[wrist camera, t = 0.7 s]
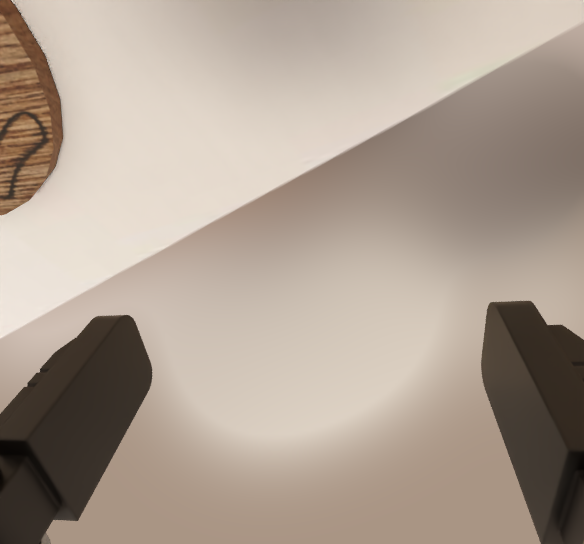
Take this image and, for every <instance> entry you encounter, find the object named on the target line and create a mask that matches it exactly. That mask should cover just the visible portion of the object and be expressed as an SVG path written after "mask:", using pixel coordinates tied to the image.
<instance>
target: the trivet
mask: <svg viewBox="0 0 584 544" xmlns="http://www.w3.org/2000/svg"><path fill="white" fill-rule="evenodd" d="M62 139H63V132H62V119H61V106H60V98H59V96H58V93H57V90H56V87H55V84H54V81H53V78H52V75H51V72H50V69H49V67H48V64H47V61H46V58H45V55H44V54H43V52H42V50H41V49H40V47H39V45H38V44H37V42H36V40H35V39H34V37H33V35H32V33H31V32H30V30H29V28H28V27H27V25H26V23H25V22H24V20H23V18H22V17H21V15H20V13H19V11H18V10H17V8H16V7H15V5H14V4H13V3H12V2H11V1H10V0H0V215H4V214H7V213H8V212H10V211H12V210H14V209H15V208H17V207H19V206H20V205H22V204H24V203H25V202H27V201H29V200H30V199H31V198H32V197H33V195H34V194H35V193H36V192H37V190H38V189H39V188H40V186H41V185H42V184H43V182H44V181H45V180H46V178H47V177H48V176H49V174H50V173H51V172H52V170H53V169H54V168H55V166H56V162H57V158H58V154H59V151H60V147H61V143H62Z"/></svg>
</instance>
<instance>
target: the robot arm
mask: <svg viewBox="0 0 584 544" xmlns="http://www.w3.org/2000/svg"><path fill="white" fill-rule="evenodd" d="M481 368H482V378H483V383H484V387H485V390H486V393H487V396H488V398H489V401H490V404H491V407H492V409H493V412H494V415H495V418H496V421H497V423H498V426H499V429H500V432H501V434H502V437H503V440H504V443H505V446H506V448H507V451H508V454H509V457H510V459H511V462H512V465H513V468H514V470H515V473H516V476H517V479H518V481H519V484H520V487H521V490H522V492H523V495H524V498H525V501H526V504H527V506H528V509H529V512H530V514H531V517H532V520H533V523H534V526H535V528H536V531H537V534H538V537H539V539H540V542H541V544H584V340H583V339H581V338H580V337H579V336H577V335H576V334H574V333H573V332H572V331H570V330H569V329H567V328H566V327H564V326H563V325H547V324H546V322H545V321H544V319H543V318H542V316H541V315H540V313H539V312H538V310H537V308H536V307H535V305H534V304H533V303H532V302H531V301H515V302H514V301H513V302H491V303H490V304H489V306H488V309H487V316H486V324H485V333H484V342H483V350H482V360H481ZM151 381H152V367H151V363H150V360H149V357H148V355H147V352H146V349H145V347H144V344H143V341H142V339H141V336H140V333H139V331H138V328H137V326H136V323H135V321H134V319H133V318H132V317H130V316H129V315H116V316H97V317H95V318H93V319H92V320H91V321H90V323H89V324H88V325H87V326H86V327H85V328H84V330H83V331H82V332H81V333H80V334H79V335H78V337H77V338H75V339H73V340H72V341H70V342H69V343H68V344H66V345H65V346H63V347H62V348H60V349H59V350H58V351H57V352H55V353H54V354H53V355H52V356H51V358H50V359H49V360H48V361H47V362H46V363H45V364H44V365H43V366H42V368H41V369H40V373H36V374H35V375H34V377H33V378H32V379H31V380H30V381H29V382H28V386H27V387H24V388H23V389H22V390H21V391H20V392H19V393H18V395H17V396H16V397H15V398H14V399H13V400H12V401H11V403H10V404H9V405H8V406H7V407H6V408H5V409H4V411H3V412H2V413H1V414H0V544H51V543H50V539H49V537H48V535H47V534H46V531H47V529H48V528H49V526H50V524H51V522H52V521H53V520H70V521H78V520H79V518H80V516H81V514H82V512H83V510H84V508H85V507H86V505H87V503H88V501H89V499H90V497H91V496H92V494H93V492H94V490H95V488H96V486H97V485H98V483H99V481H100V479H101V477H102V475H103V474H104V472H105V470H106V468H107V466H108V464H109V463H110V461H111V459H112V457H113V455H114V453H115V451H116V450H117V448H118V446H119V444H120V442H121V440H122V438H123V437H124V435H125V433H126V431H127V429H128V428H129V426H130V424H131V422H132V420H133V418H134V417H135V415H136V413H137V411H138V409H139V407H140V406H141V404H142V402H143V400H144V398H145V396H146V395H147V393H148V391H149V389H150V386H151Z"/></svg>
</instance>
